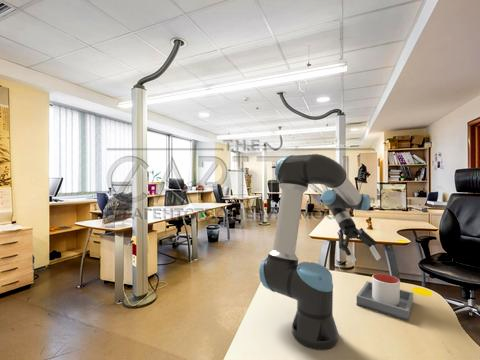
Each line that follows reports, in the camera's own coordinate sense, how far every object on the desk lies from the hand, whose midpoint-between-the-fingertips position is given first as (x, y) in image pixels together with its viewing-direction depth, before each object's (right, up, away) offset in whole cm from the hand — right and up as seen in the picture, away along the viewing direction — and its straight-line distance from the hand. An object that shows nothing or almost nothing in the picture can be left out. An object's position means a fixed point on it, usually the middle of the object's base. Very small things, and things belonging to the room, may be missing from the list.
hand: (366, 260), depth 113 cm
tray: (+3, -15, -10) cm, 18 cm away
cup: (+3, -14, -10) cm, 18 cm away
